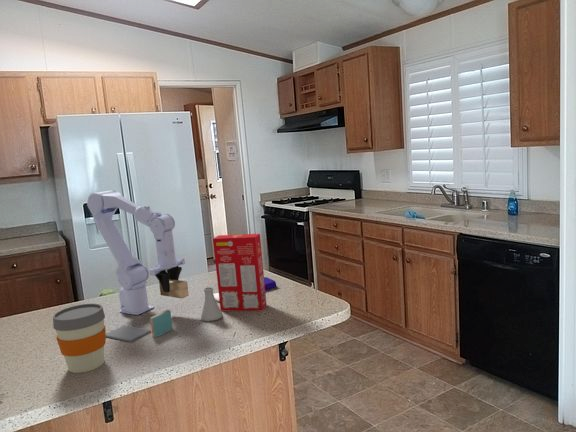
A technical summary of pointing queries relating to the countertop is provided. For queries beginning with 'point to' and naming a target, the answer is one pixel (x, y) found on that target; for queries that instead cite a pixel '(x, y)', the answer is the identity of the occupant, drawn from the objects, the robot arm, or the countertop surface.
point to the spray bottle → (268, 285)
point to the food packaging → (240, 272)
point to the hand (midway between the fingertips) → (170, 290)
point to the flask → (210, 306)
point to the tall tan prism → (176, 289)
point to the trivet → (127, 333)
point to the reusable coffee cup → (81, 336)
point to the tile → (161, 323)
